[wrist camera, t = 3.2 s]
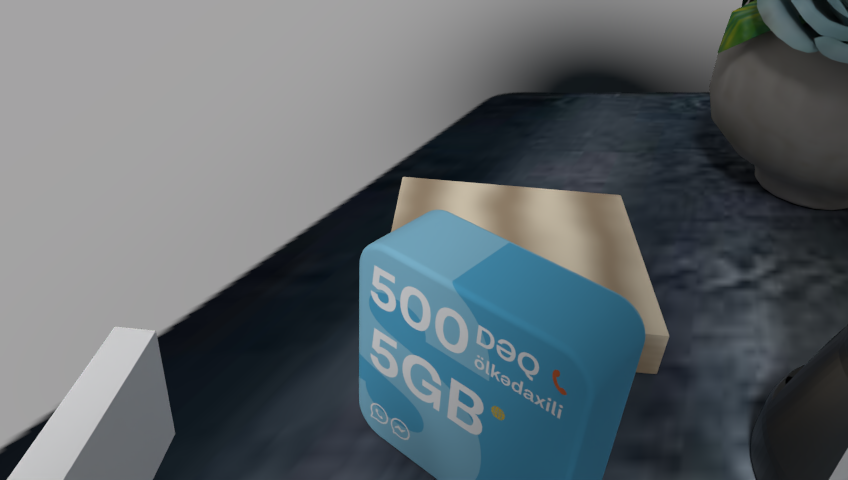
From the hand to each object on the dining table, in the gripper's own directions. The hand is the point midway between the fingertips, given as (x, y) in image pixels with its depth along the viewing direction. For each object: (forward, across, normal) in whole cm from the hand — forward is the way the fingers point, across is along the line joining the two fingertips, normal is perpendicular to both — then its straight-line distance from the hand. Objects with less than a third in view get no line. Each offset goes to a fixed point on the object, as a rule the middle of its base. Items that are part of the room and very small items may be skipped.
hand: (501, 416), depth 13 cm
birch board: (+30, +4, -18) cm, 35 cm away
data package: (+14, +1, -18) cm, 23 cm away
